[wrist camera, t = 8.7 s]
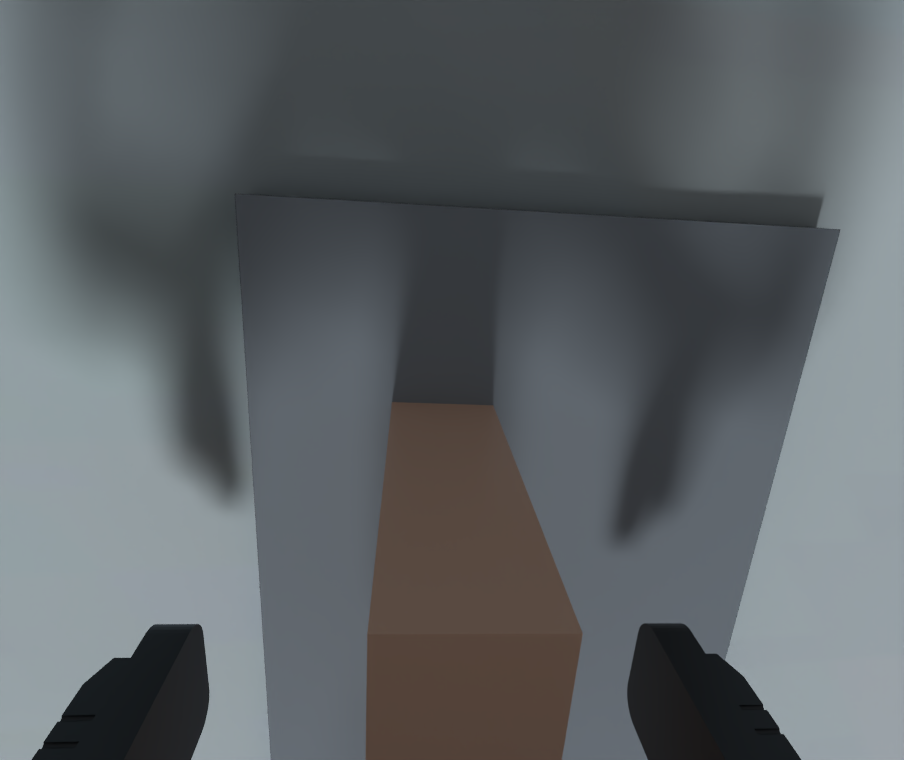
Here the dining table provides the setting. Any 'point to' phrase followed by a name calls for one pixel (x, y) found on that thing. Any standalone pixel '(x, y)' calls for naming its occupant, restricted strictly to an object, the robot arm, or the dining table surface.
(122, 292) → the dining table surface
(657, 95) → the dining table surface
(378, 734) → the block
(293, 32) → the dining table surface
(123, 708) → the robot arm
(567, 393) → the mat
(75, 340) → the dining table surface
